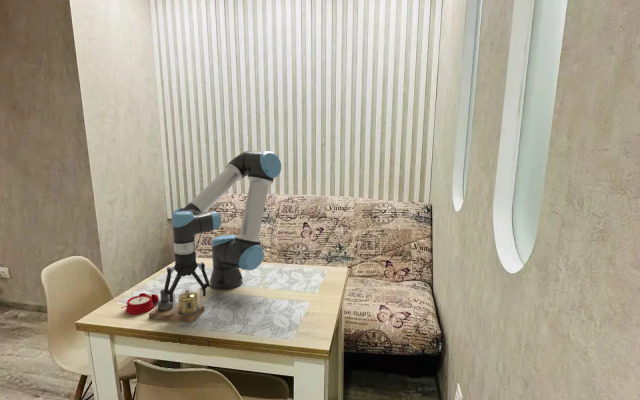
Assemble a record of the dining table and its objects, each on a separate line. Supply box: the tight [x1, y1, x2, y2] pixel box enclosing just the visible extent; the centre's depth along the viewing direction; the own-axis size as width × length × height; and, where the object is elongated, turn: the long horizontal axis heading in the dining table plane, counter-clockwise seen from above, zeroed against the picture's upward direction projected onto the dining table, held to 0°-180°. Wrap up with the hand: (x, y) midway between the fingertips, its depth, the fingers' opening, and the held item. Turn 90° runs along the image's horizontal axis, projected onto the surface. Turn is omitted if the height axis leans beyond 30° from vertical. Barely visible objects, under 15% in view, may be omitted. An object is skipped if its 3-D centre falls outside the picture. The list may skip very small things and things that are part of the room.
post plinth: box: [148, 288, 206, 323], centre depth 146 cm, size 18×10×10 cm, turn 79°
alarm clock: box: [121, 292, 160, 316], centre depth 152 cm, size 10×6×15 cm
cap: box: [178, 289, 199, 314], centre depth 144 cm, size 7×7×7 cm
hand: (188, 306), depth 145 cm, fingers open, 9 cm apart
